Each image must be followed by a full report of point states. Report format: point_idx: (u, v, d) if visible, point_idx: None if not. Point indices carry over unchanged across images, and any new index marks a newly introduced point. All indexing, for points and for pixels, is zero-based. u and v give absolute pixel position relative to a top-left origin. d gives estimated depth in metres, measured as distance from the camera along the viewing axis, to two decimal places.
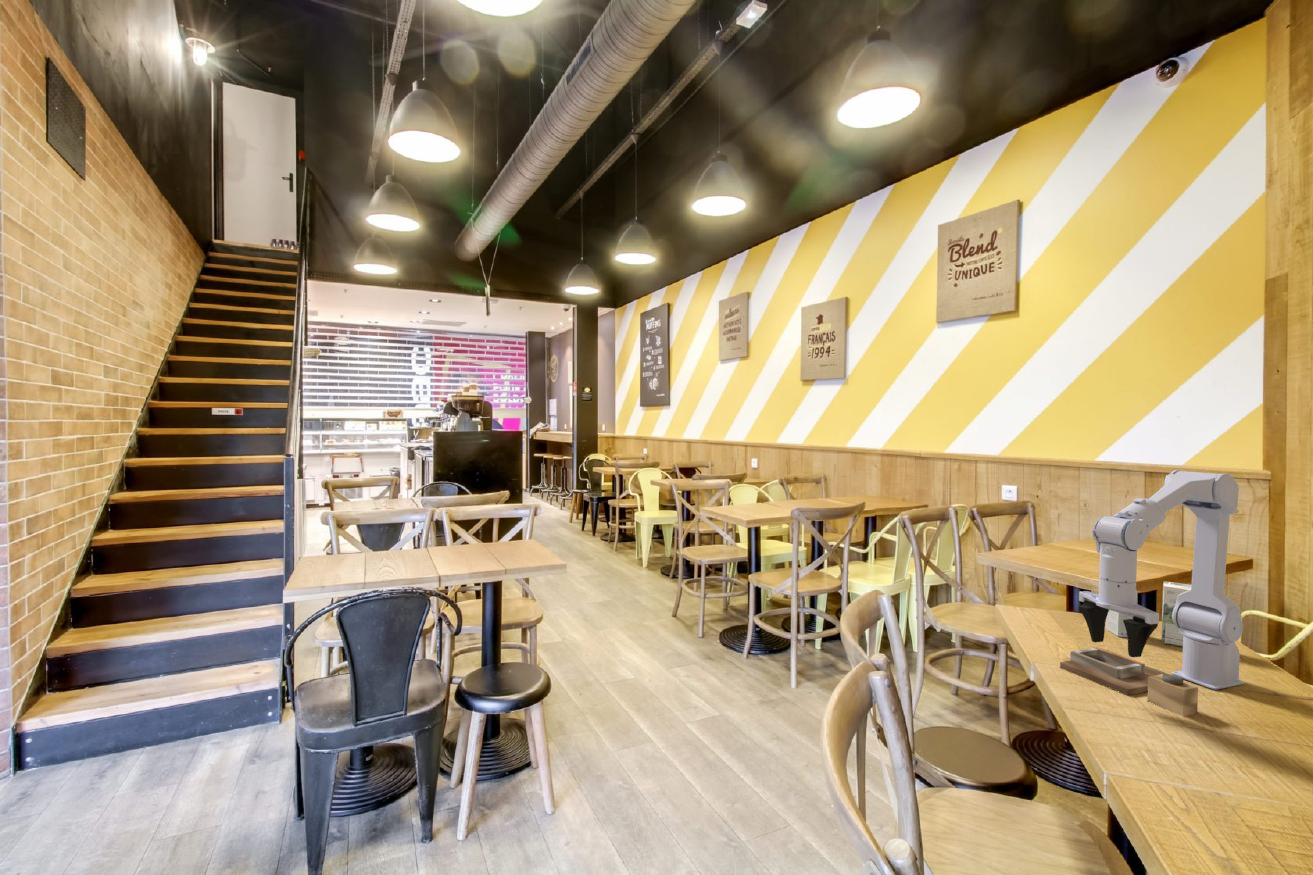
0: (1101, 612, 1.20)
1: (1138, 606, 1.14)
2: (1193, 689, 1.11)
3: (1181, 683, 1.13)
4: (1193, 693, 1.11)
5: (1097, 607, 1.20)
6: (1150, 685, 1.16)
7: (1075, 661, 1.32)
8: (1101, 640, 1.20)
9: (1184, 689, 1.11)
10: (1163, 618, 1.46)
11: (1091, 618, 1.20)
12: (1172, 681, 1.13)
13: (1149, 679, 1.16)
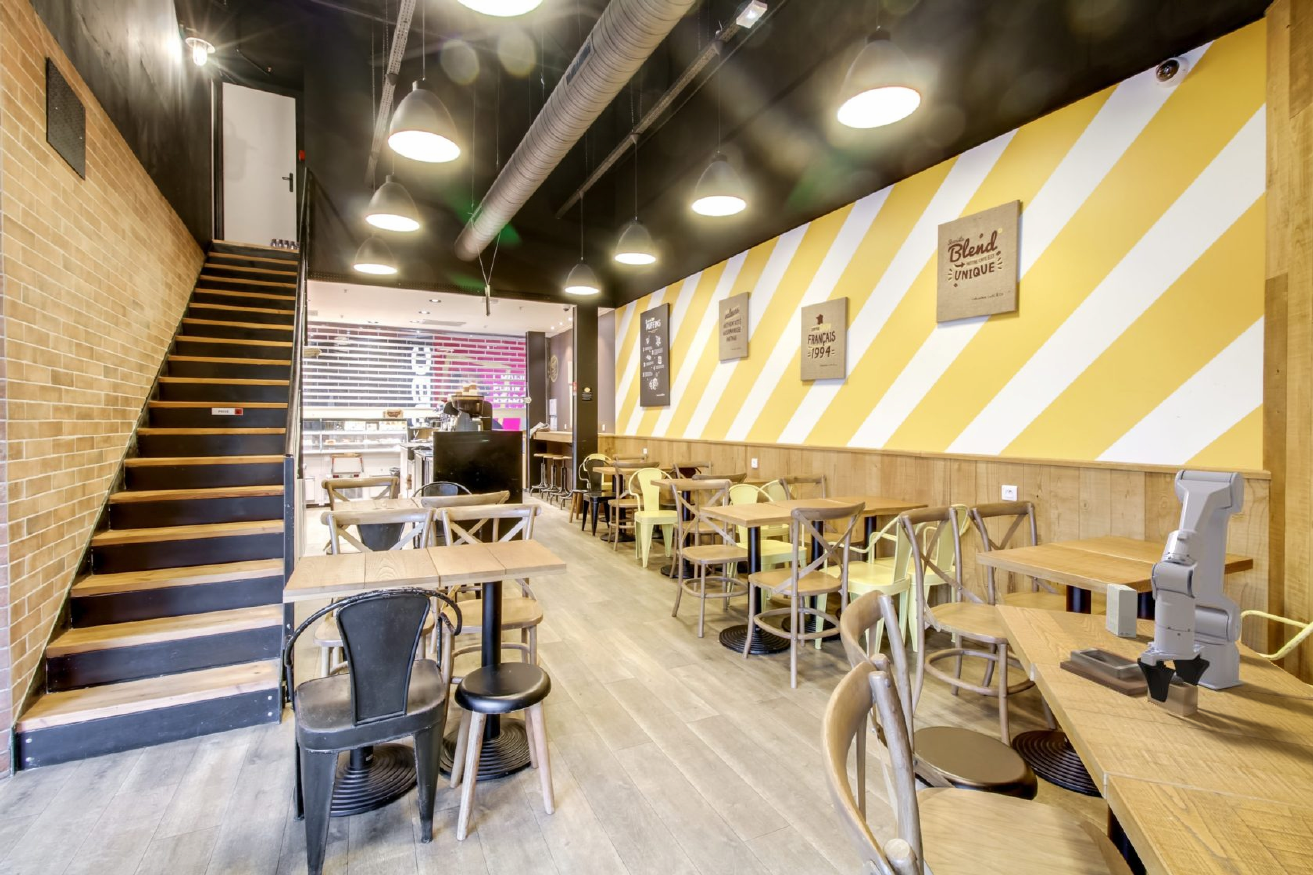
0: (1190, 665, 1.14)
1: None
2: (1193, 689, 1.11)
3: (1181, 683, 1.13)
4: (1193, 693, 1.11)
5: None
6: None
7: (1075, 661, 1.32)
8: None
9: (1184, 689, 1.11)
10: None
11: (1176, 665, 1.17)
12: (1172, 681, 1.13)
13: None
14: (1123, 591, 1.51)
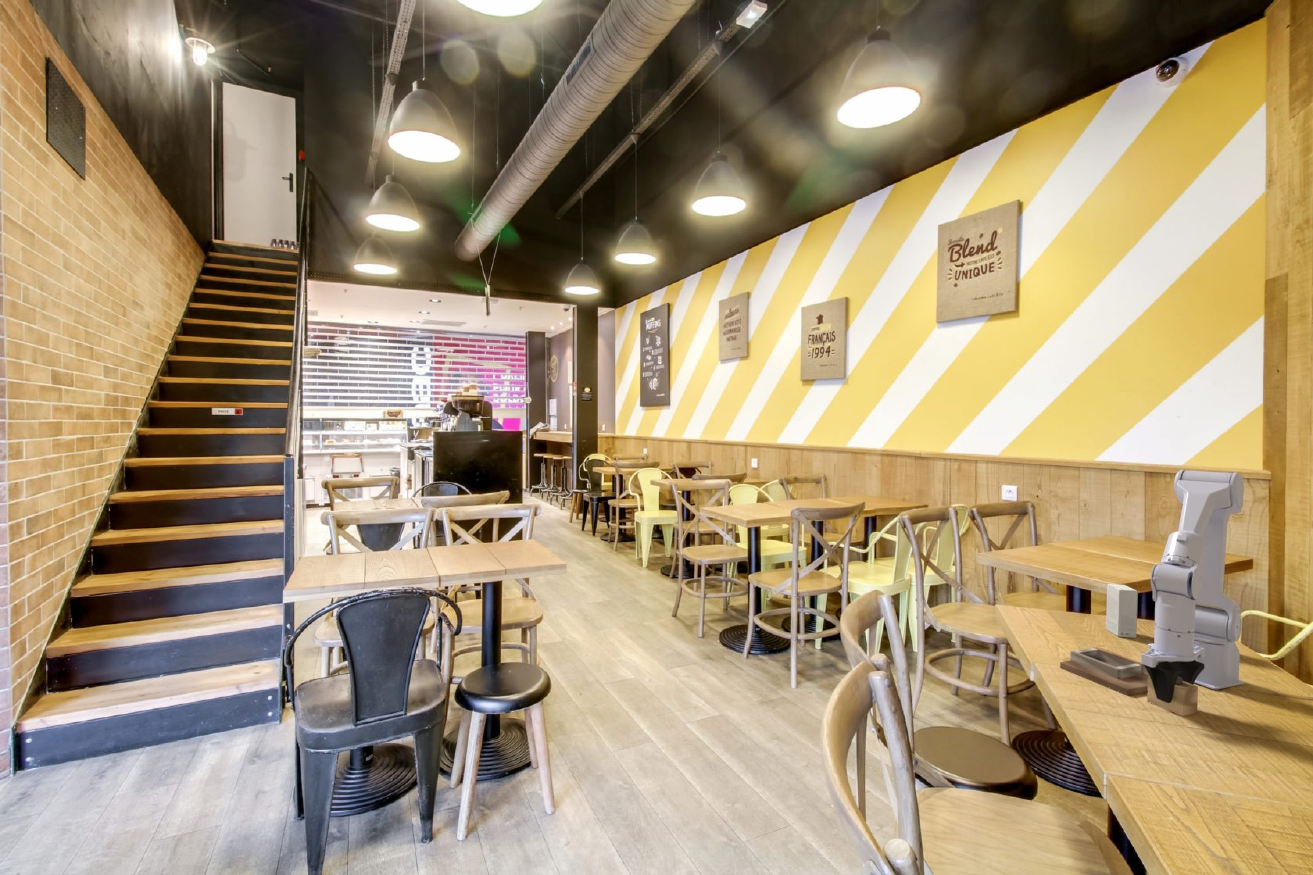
0: (1184, 668, 1.14)
1: None
2: (1192, 688, 1.11)
3: (1181, 682, 1.13)
4: (1193, 692, 1.11)
5: (1179, 660, 1.15)
6: (1150, 684, 1.16)
7: (1075, 661, 1.32)
8: None
9: (1184, 689, 1.11)
10: None
11: None
12: None
13: (1149, 679, 1.16)
14: (1123, 591, 1.51)
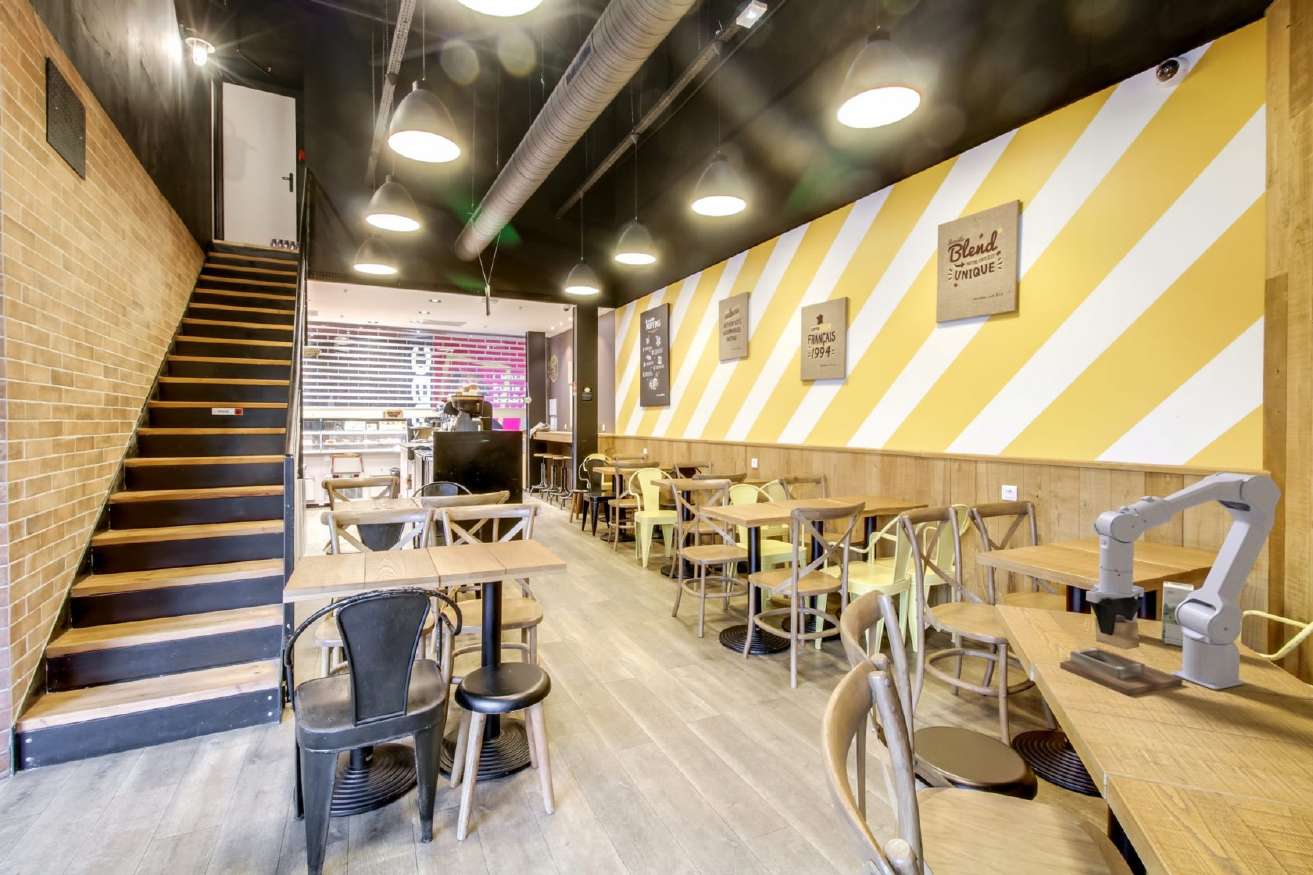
0: (1125, 605, 1.27)
1: None
2: (1133, 624, 1.24)
3: (1123, 620, 1.26)
4: (1134, 628, 1.24)
5: (1121, 598, 1.28)
6: (1097, 625, 1.29)
7: (1075, 661, 1.32)
8: None
9: (1125, 625, 1.24)
10: (1163, 618, 1.46)
11: None
12: None
13: (1096, 620, 1.29)
14: None
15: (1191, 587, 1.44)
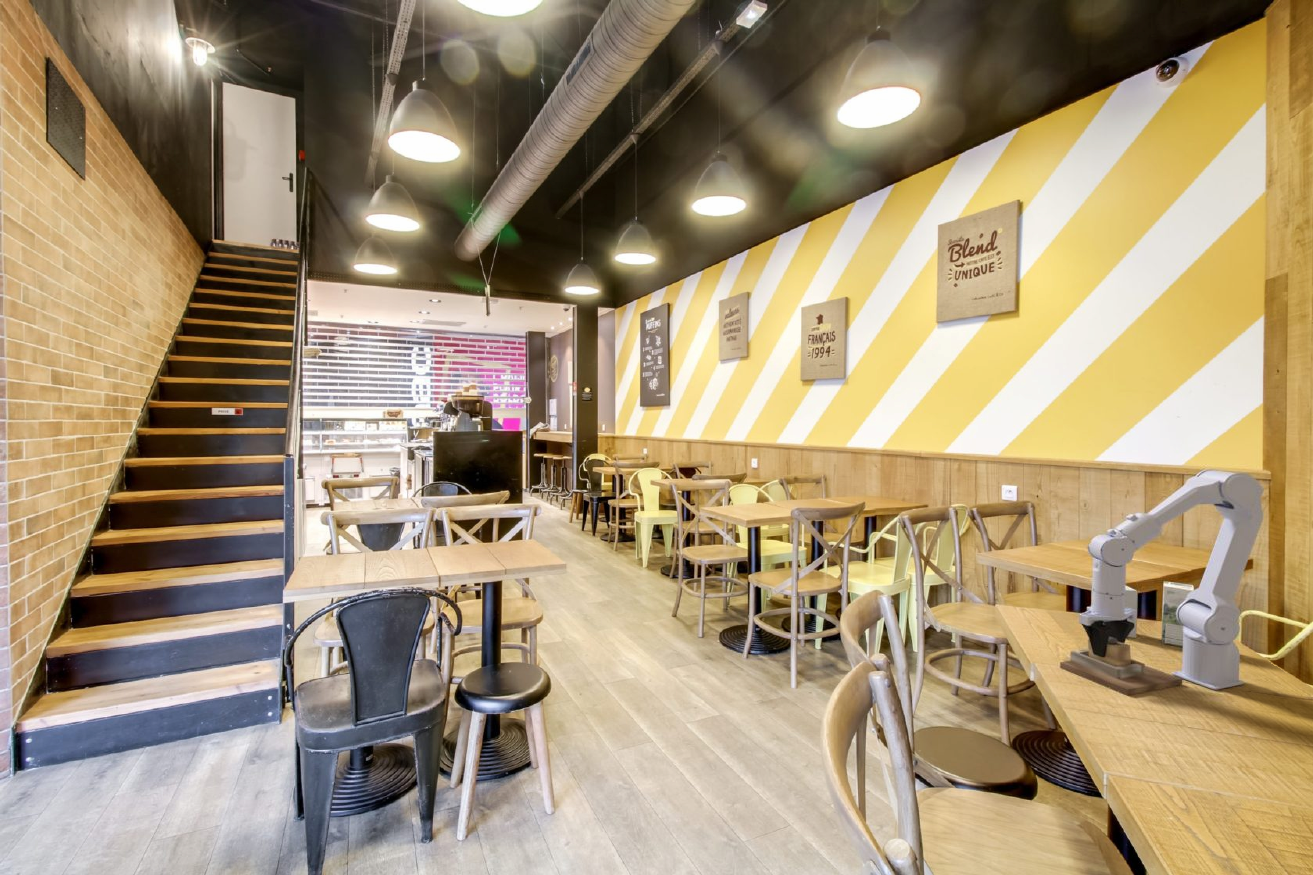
0: (1117, 627, 1.29)
1: None
2: (1125, 647, 1.26)
3: (1115, 642, 1.28)
4: (1126, 650, 1.26)
5: (1114, 621, 1.30)
6: (1090, 647, 1.31)
7: (1075, 661, 1.32)
8: None
9: (1117, 647, 1.26)
10: (1163, 618, 1.46)
11: None
12: None
13: (1089, 641, 1.31)
14: None
15: (1191, 587, 1.44)
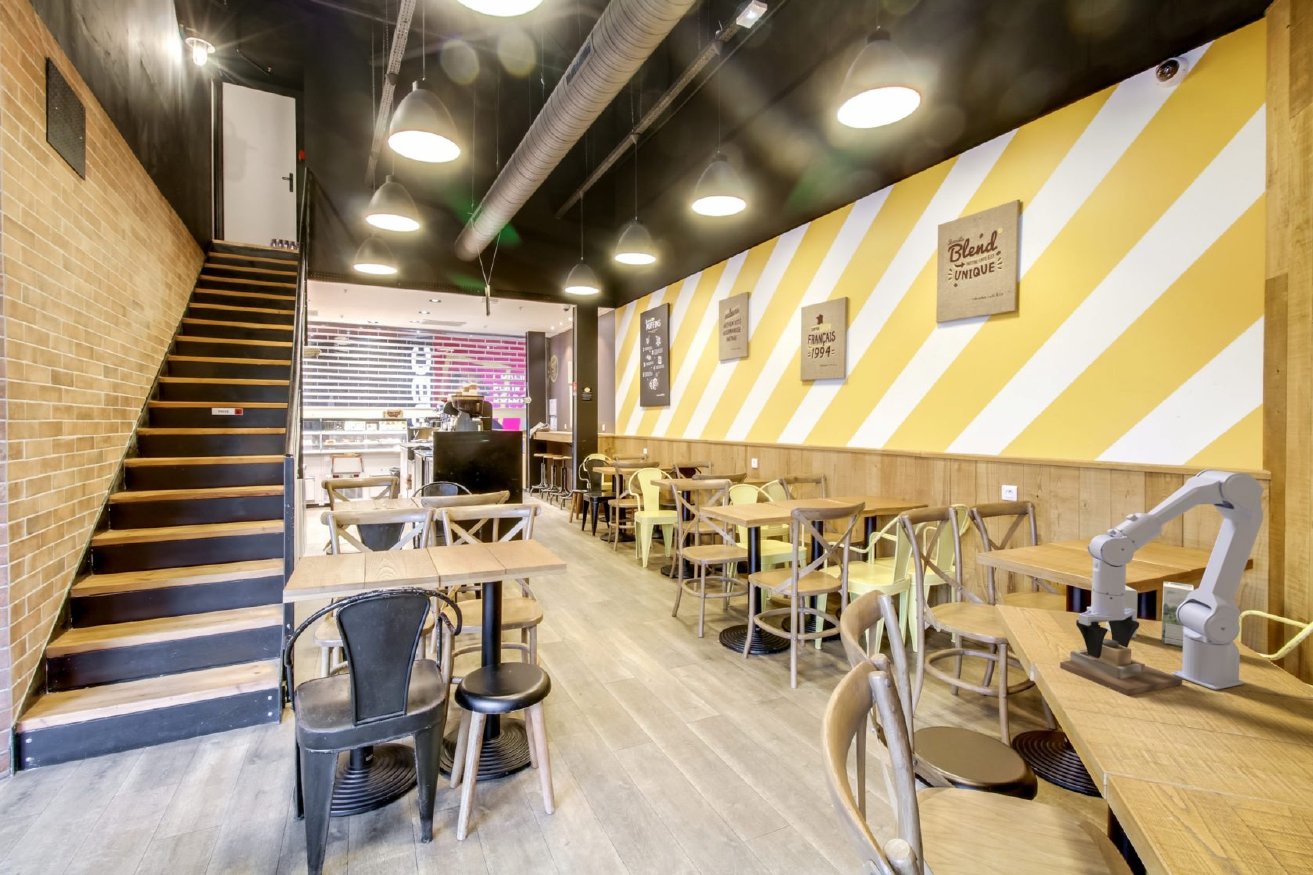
0: (1122, 626, 1.30)
1: None
2: (1126, 650, 1.26)
3: (1117, 646, 1.28)
4: (1126, 654, 1.26)
5: (1118, 620, 1.31)
6: None
7: (1075, 661, 1.32)
8: None
9: (1118, 651, 1.26)
10: (1163, 618, 1.46)
11: (1111, 627, 1.32)
12: (1109, 644, 1.28)
13: None
14: None
15: (1191, 587, 1.44)
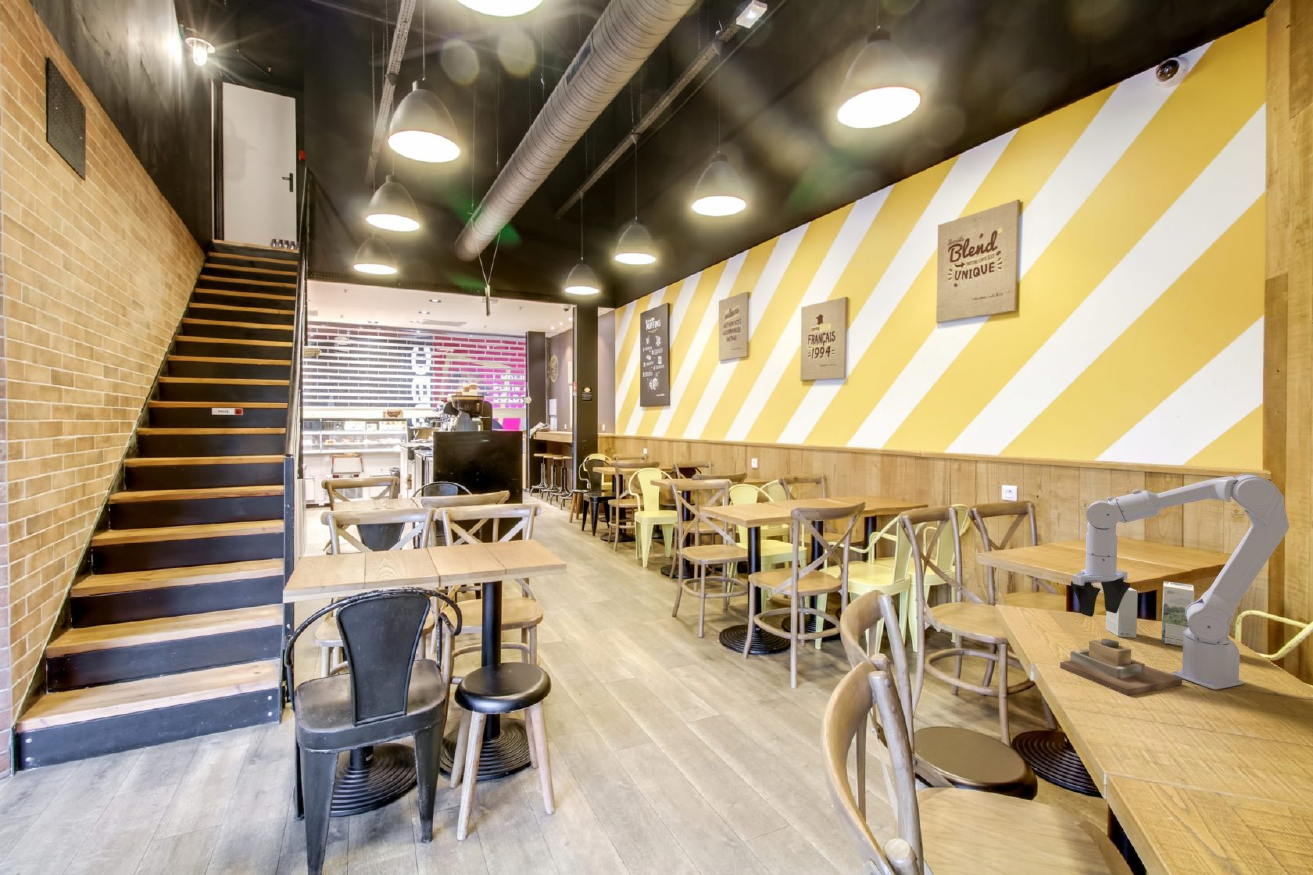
0: (1114, 587, 1.37)
1: None
2: (1126, 650, 1.26)
3: (1117, 646, 1.28)
4: (1126, 654, 1.26)
5: (1111, 581, 1.38)
6: (1091, 648, 1.31)
7: (1075, 661, 1.32)
8: (1113, 611, 1.37)
9: (1118, 651, 1.26)
10: (1163, 618, 1.46)
11: (1104, 588, 1.40)
12: (1109, 644, 1.28)
13: (1090, 643, 1.31)
14: None
15: (1191, 587, 1.44)
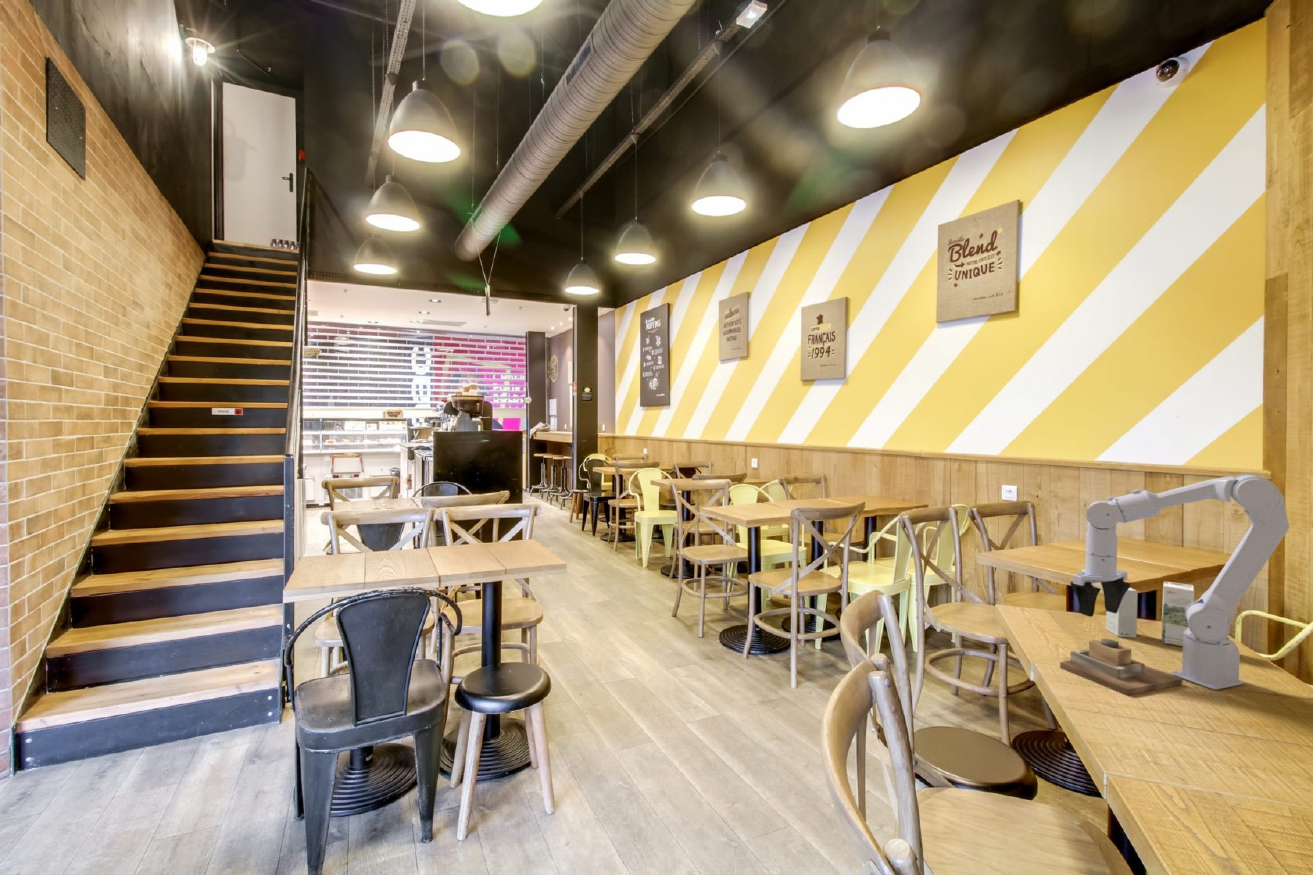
0: (1114, 587, 1.37)
1: None
2: (1126, 650, 1.26)
3: (1117, 646, 1.28)
4: (1126, 654, 1.26)
5: (1111, 581, 1.38)
6: (1091, 648, 1.31)
7: (1075, 661, 1.32)
8: (1113, 611, 1.37)
9: (1118, 651, 1.26)
10: (1163, 618, 1.46)
11: (1104, 588, 1.40)
12: (1109, 644, 1.28)
13: (1090, 643, 1.31)
14: None
15: (1191, 587, 1.44)
